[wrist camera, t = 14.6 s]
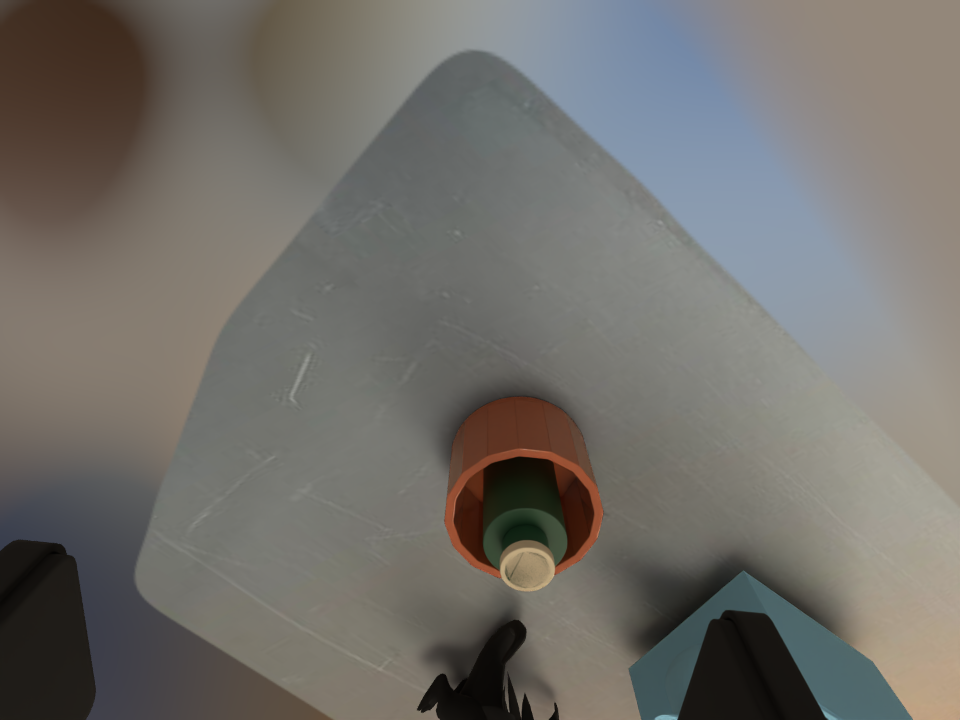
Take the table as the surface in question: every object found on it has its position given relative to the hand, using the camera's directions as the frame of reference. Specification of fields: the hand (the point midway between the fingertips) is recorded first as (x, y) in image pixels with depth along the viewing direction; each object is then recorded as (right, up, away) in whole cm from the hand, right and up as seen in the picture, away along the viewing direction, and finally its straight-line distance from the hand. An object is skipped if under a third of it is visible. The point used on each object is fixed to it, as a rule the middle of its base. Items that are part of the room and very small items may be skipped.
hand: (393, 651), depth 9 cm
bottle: (+4, -2, +31) cm, 31 cm away
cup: (+4, -2, +31) cm, 32 cm away
